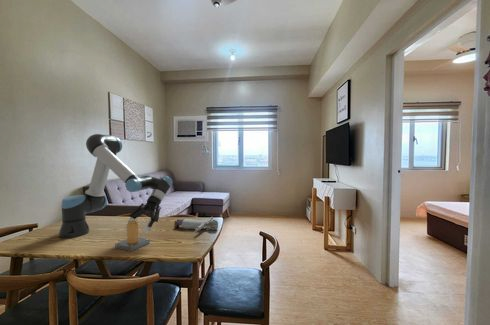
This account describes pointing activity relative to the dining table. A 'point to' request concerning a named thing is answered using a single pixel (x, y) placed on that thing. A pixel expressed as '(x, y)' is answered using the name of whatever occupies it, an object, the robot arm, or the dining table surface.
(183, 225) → the toy
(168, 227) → the dining table surface
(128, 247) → the grey base with peg
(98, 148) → the robot arm
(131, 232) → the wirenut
